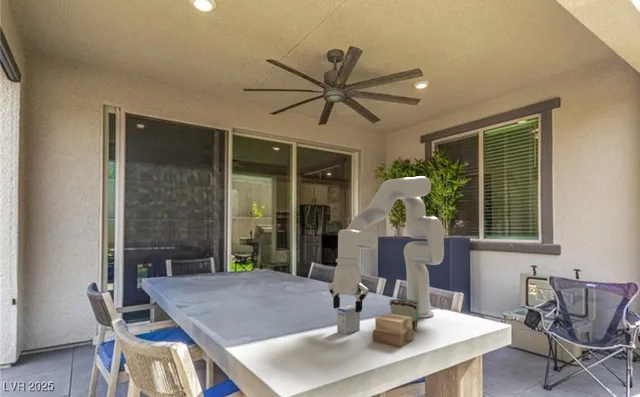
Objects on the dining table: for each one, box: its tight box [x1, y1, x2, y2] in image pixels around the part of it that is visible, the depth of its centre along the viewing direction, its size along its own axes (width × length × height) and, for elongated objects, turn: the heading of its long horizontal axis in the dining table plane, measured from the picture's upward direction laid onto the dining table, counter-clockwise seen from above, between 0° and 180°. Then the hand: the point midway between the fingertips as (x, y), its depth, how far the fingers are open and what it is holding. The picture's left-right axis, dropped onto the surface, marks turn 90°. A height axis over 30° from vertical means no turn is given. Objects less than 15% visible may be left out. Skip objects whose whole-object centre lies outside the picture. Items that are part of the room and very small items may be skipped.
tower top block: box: [374, 312, 412, 335], centre depth 121 cm, size 9×9×4 cm
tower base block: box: [372, 328, 415, 349], centre depth 121 cm, size 10×10×4 cm
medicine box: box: [336, 304, 361, 335], centre depth 132 cm, size 8×4×9 cm, turn 135°
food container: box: [388, 298, 420, 333], centre depth 137 cm, size 12×6×10 cm, turn 47°
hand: (347, 309), depth 132 cm, fingers open, 9 cm apart
